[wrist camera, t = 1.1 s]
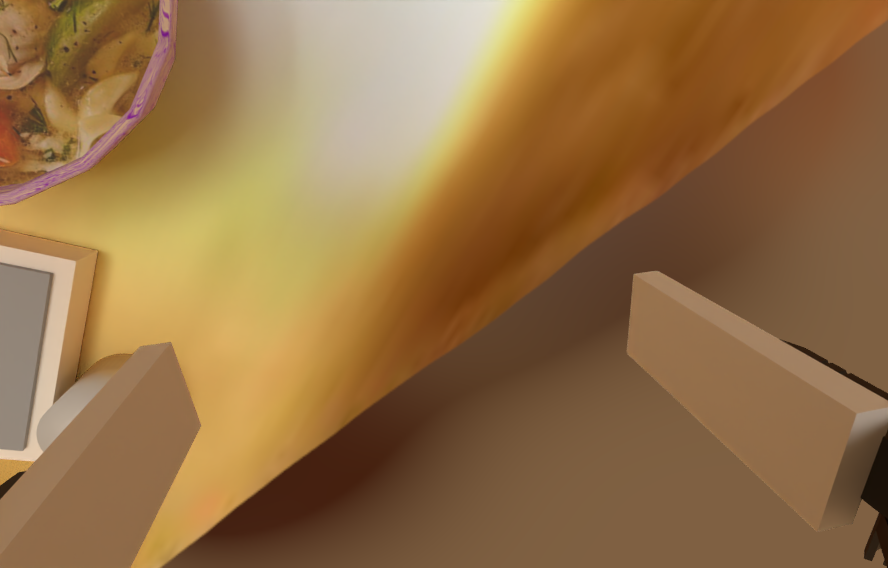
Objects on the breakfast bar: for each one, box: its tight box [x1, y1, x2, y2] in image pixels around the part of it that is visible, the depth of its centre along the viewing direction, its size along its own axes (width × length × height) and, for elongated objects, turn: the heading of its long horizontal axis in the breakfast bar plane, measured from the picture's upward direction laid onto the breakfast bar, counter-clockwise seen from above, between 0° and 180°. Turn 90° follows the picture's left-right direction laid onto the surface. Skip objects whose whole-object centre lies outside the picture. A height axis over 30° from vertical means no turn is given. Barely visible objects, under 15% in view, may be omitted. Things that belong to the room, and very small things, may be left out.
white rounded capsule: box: [36, 354, 132, 452], centre depth 30 cm, size 5×5×6 cm
